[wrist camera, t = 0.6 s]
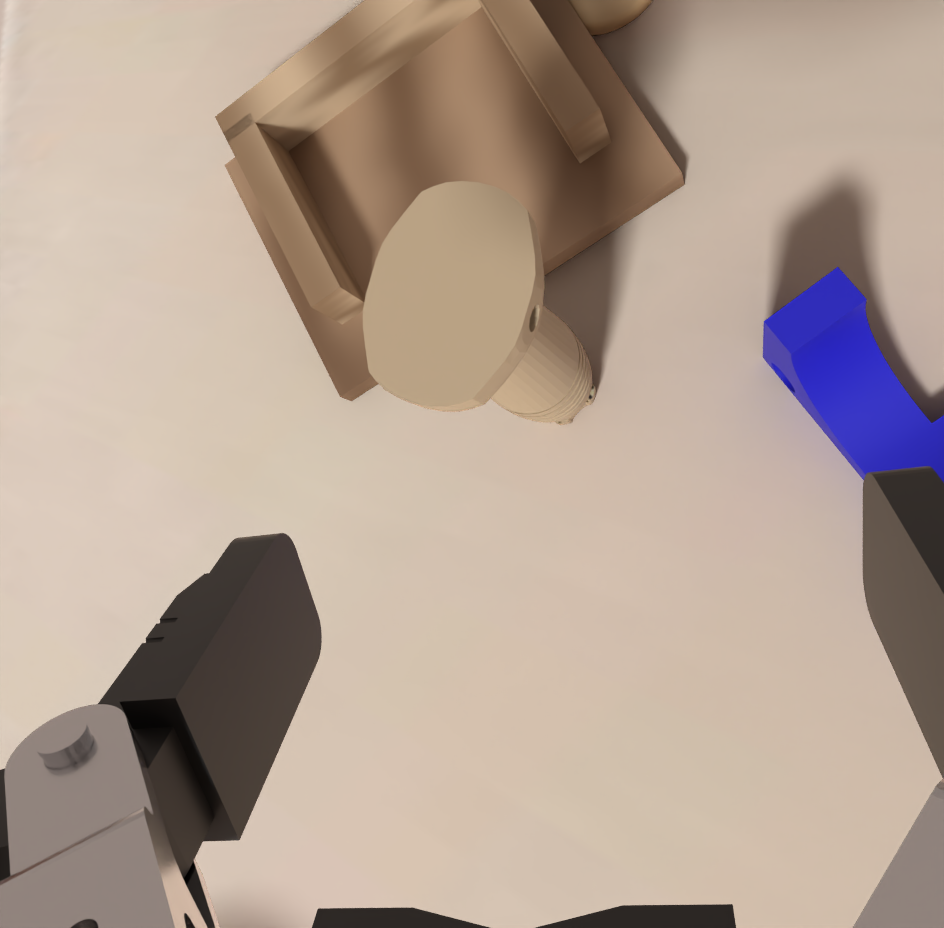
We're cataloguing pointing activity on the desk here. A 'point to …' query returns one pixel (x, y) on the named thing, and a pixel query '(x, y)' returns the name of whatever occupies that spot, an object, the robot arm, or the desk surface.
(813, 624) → the desk surface
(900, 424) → the cable clip
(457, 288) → the handle
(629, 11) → the bobbin
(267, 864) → the desk surface
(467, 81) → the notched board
